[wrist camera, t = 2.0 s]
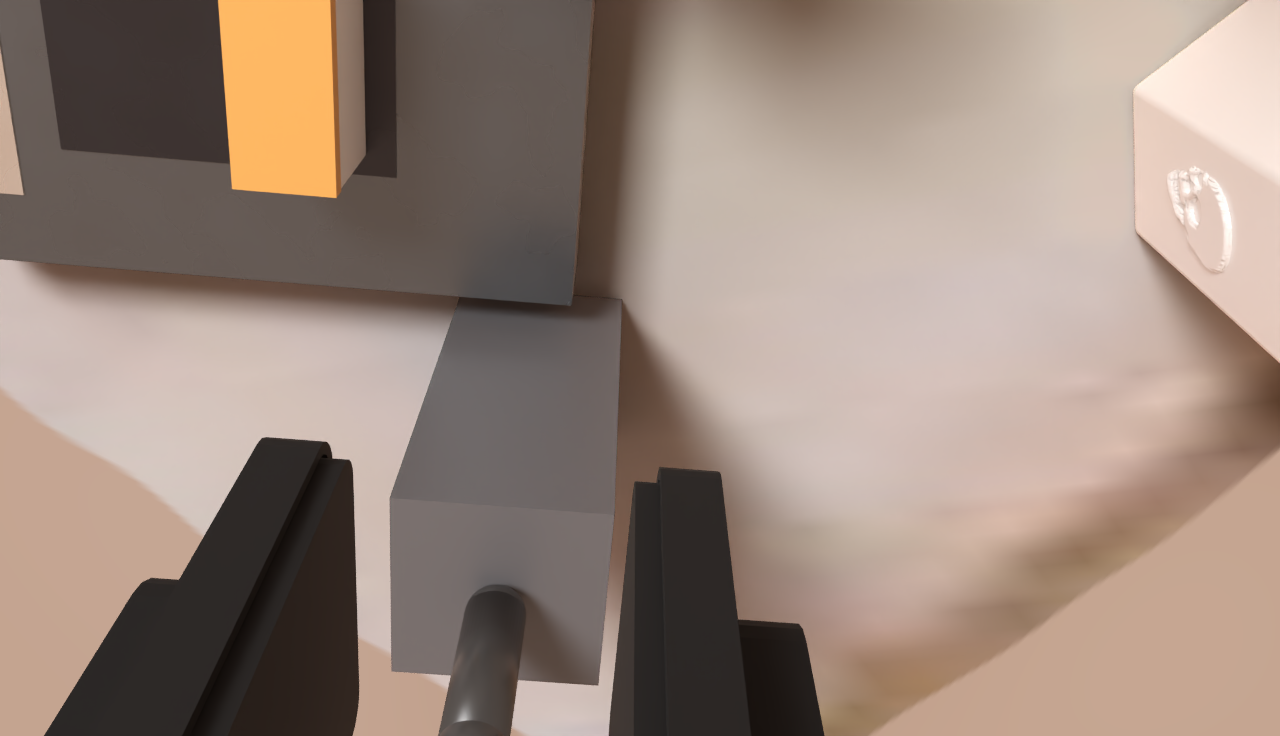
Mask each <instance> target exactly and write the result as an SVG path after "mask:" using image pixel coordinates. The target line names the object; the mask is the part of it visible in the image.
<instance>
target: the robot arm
mask: <svg viewBox="0 0 1280 736" xmlns="http://www.w3.org/2000/svg"><path fill="white" fill-rule="evenodd" d="M358 667H359V666H358V631H357V596H356V560H355V525H354V490H353V468H352V464H351V462H350V460H344V459H332V452H331V448H330V445H329V444H328V443H327V442H322V441H308V440H295V439H282V438H269V437H265V438H262V439H261V440H260V441H259V443H258V444H257V445H256V447H255V449H254V451H253V452H252V454H251V456H250V458H249V459H248V461H247V463H246V465H245V466H244V468H243V470H242V471H241V473H240V475H239V477H238V478H237V480H236V482H235V484H234V485H233V487H232V489H231V491H230V492H229V494H228V496H227V497H226V499H225V501H224V503H223V504H222V506H221V508H220V510H219V511H218V513H217V515H216V517H215V518H214V520H213V522H212V524H211V525H210V527H209V529H208V530H207V532H206V534H205V536H204V537H203V539H202V541H201V543H200V544H199V546H198V548H197V550H196V551H195V553H194V555H193V557H192V558H191V560H190V562H189V563H188V565H187V567H186V569H185V571H184V572H183V574H182V576H181V578H180V579H179V580H171V579H158V578H150V579H149V580H146V581H144V582H142V583H141V584H140V585H139V587H138V588H137V589H136V590H135V592H134V593H133V594H132V596H131V597H130V599H129V600H128V602H127V603H126V605H125V607H124V608H123V610H122V612H121V613H120V615H119V616H118V618H117V620H116V621H115V623H114V624H113V626H112V628H111V629H110V631H109V632H108V634H107V636H106V637H105V639H104V640H103V642H102V644H101V645H100V647H99V649H98V650H97V652H96V653H95V655H94V657H93V658H92V660H91V661H90V663H89V664H88V666H87V668H86V669H85V671H84V673H83V674H82V676H81V677H80V679H79V681H78V682H77V684H76V686H75V687H74V689H73V690H72V692H71V693H70V695H69V697H68V698H67V700H66V702H65V703H64V705H63V706H62V708H61V709H60V711H59V713H58V714H57V716H56V717H55V719H54V721H53V722H52V724H51V725H50V727H49V729H48V730H47V732H46V733H45V735H44V736H352V735H353V731H354V727H355V723H356V717H357V711H358V701H359V670H358V669H359V668H358ZM609 736H824V731H823V726H822V721H821V716H820V710H819V705H818V700H817V695H816V690H815V684H814V679H813V674H812V669H811V664H810V658H809V653H808V648H807V643H806V639H805V635H804V632H803V629H802V628H801V626H800V625H799V624H793V623H779V622H764V621H750V620H738V617H737V609H736V600H735V591H734V583H733V574H732V566H731V557H730V548H729V540H728V531H727V522H726V514H725V505H724V497H723V488H722V479H721V474H720V472H716V471H703V470H689V469H676V468H663V467H660V468H659V471H658V476H657V483H649V482H636V481H635V483H634V489H633V497H632V507H631V517H630V526H629V536H628V546H627V556H626V565H625V575H624V585H623V594H622V604H621V614H620V624H619V633H618V643H617V653H616V663H615V672H614V682H613V692H612V702H611V712H610V725H609Z"/></svg>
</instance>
